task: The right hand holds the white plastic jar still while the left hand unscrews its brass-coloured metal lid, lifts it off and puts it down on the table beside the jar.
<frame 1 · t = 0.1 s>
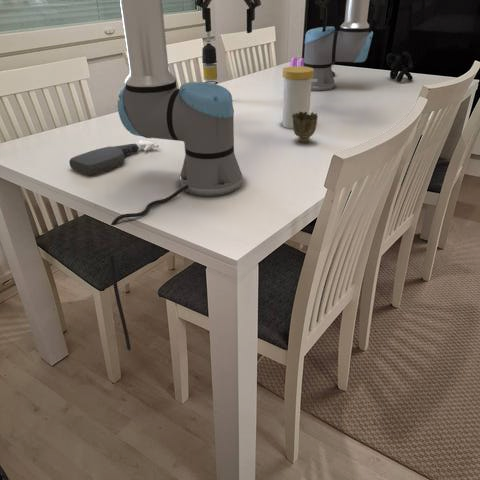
left hand: (228, 32, 139), 28 cm above the table, tool pointing down, fingers open, 13 cm apart
right hand: (346, 31, 135), 28 cm above the table, tool pointing down, fingers open, 13 cm apart
cup: (303, 141, 135), on the table
squiggle: (399, 80, 200), on the table
spray bottle: (117, 159, 125), on the table
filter: (211, 98, 179), on the table
jar: (295, 124, 149), on the table
bracket: (301, 71, 219), on the table
lid: (298, 70, 140), point 17 cm above the table, screwed on, not yet turned
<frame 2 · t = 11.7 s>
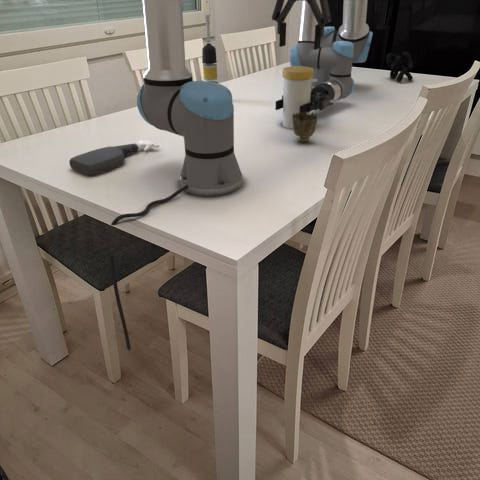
left hand: (299, 47, 136), 24 cm above the table, tool pointing down, fingers open, 11 cm apart
right hand: (288, 108, 142), 7 cm above the table, tool horizontal, fingers closed on jar, 9 cm apart
jar: (295, 124, 149), on the table, touching right hand
everything else where it was.
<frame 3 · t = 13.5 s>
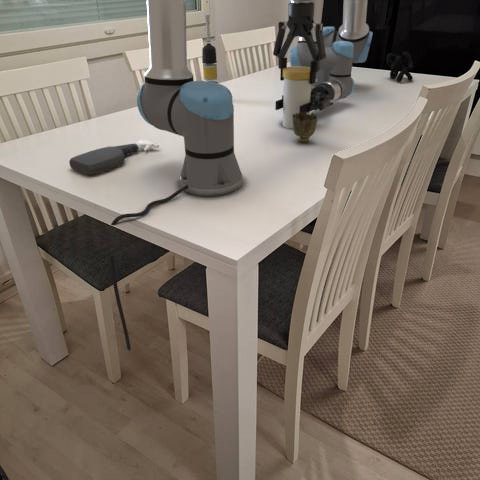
left hand: (297, 81, 141), 14 cm above the table, tool pointing down, fingers closed on lid, 10 cm apart
right hand: (288, 108, 142), 7 cm above the table, tool horizontal, fingers closed on jar, 9 cm apart
jar: (295, 124, 149), on the table, touching right hand
lid: (298, 70, 140), point 17 cm above the table, screwed on, not yet turned, touching left hand
everything else where it was.
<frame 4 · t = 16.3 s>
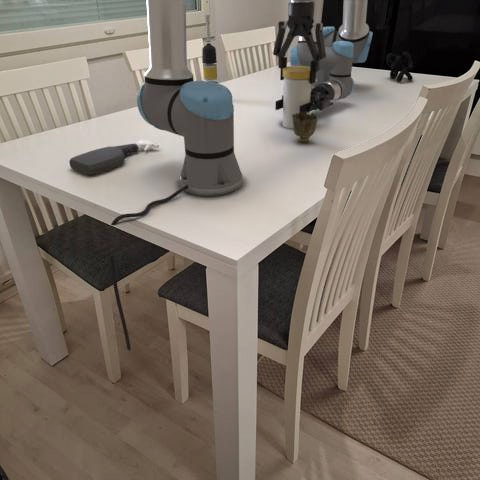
left hand: (297, 81, 141), 14 cm above the table, tool pointing down, fingers closed on lid, 10 cm apart
right hand: (288, 108, 142), 7 cm above the table, tool horizontal, fingers closed on jar, 9 cm apart
jar: (295, 124, 149), on the table, touching right hand
lid: (298, 69, 139), point 17 cm above the table, turned 70° so far, risen 0.2 cm, still on its thread, touching left hand
everything else where it was.
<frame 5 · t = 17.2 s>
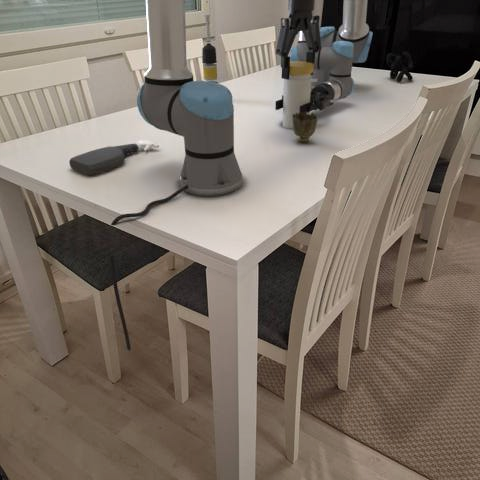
left hand: (297, 76, 140), 16 cm above the table, tool pointing down, fingers closed on lid, 10 cm apart
right hand: (288, 108, 142), 7 cm above the table, tool horizontal, fingers closed on jar, 9 cm apart
jar: (295, 124, 149), on the table, touching right hand
lid: (298, 65, 139), point 19 cm above the table, off its thread, touching left hand
everything else where it was.
when the left hand's fingers open (0 cm above the table, at t = 21.4 s): lid drops 2 cm, point 2 cm above the table.
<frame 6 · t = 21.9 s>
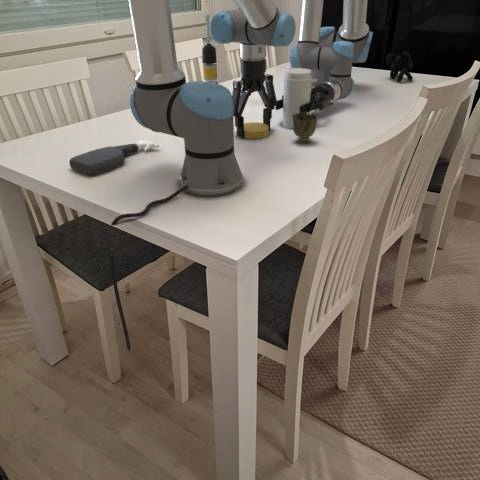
left hand: (253, 132, 142), 0 cm above the table, tool pointing down, fingers open, 10 cm apart
right hand: (288, 108, 142), 7 cm above the table, tool horizontal, fingers closed on jar, 9 cm apart
jar: (295, 124, 149), on the table, touching right hand
lid: (253, 128, 141), point 2 cm above the table, off its thread
everything else where it was.
when the right hand's fingers open (7 cm above the table, at t = 23.0 s): jar stays where it is, on the table.
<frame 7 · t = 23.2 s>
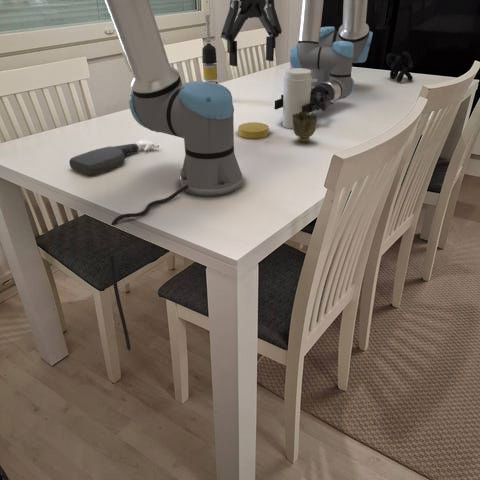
left hand: (251, 63, 130), 21 cm above the table, tool pointing down, fingers open, 13 cm apart
right hand: (288, 107, 142), 7 cm above the table, tool horizontal, fingers open, 10 cm apart
jar: (295, 124, 149), on the table
everything else where it was.
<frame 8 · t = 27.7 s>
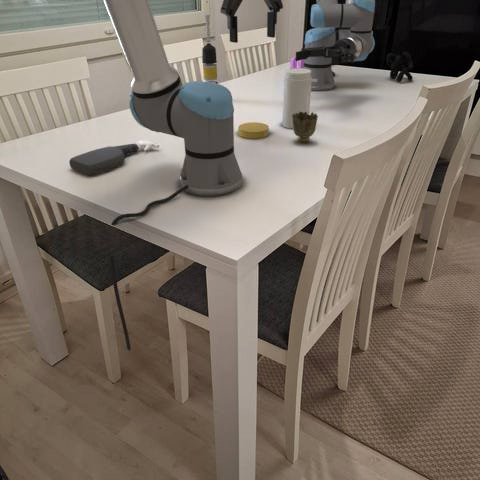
left hand: (252, 39, 127), 28 cm above the table, tool pointing down, fingers open, 13 cm apart
right hand: (314, 58, 144), 19 cm above the table, tool horizontal, fingers open, 13 cm apart
nothing on the table moved.
at the end: lid came off its thread; lid point 1.8 cm above the table; the left hand is holding nothing; the right hand is holding nothing; jar tilted 0°; jar moved 0.0 cm from its start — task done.
